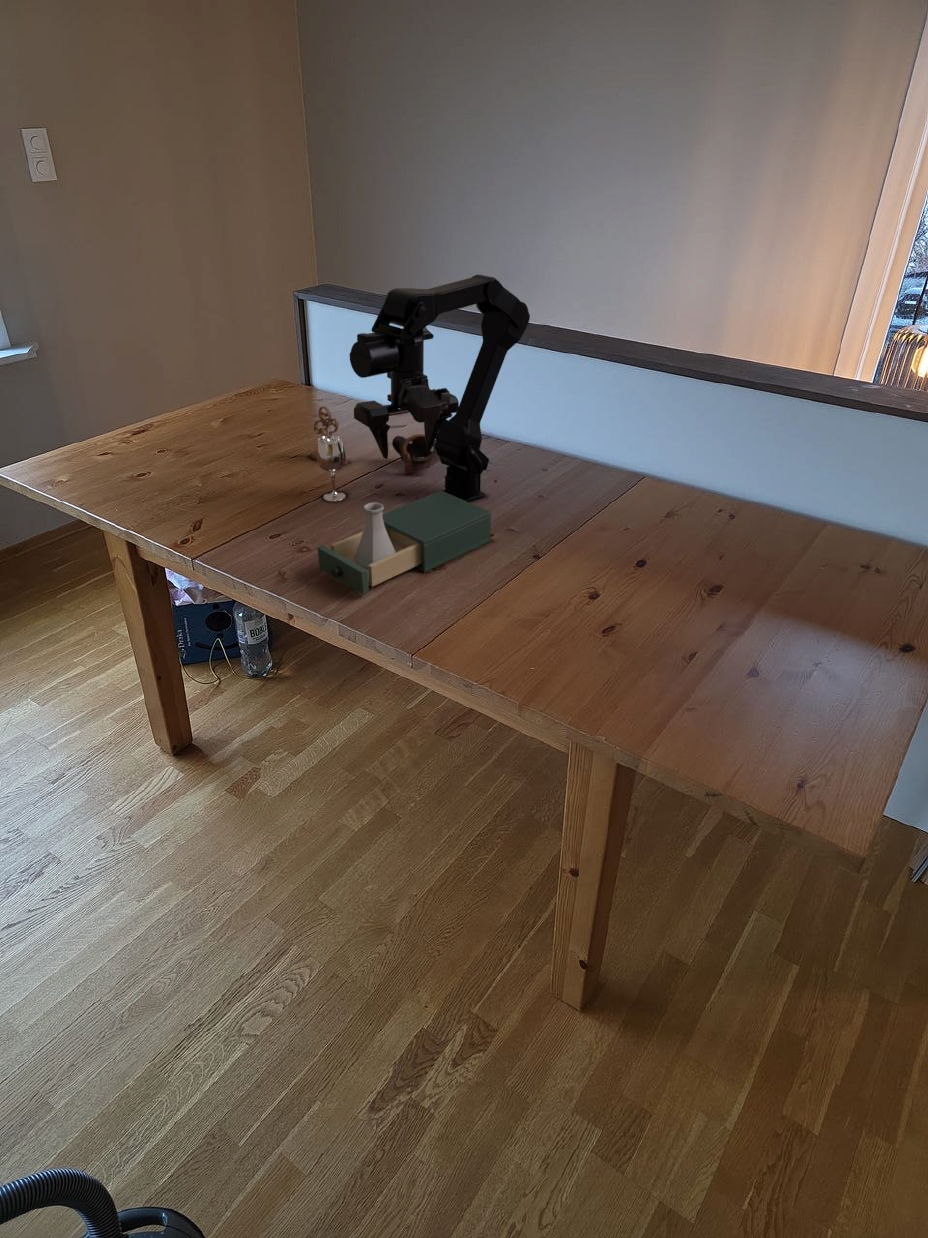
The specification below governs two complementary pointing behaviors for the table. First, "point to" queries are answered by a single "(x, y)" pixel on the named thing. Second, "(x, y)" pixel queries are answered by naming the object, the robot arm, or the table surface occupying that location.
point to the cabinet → (441, 527)
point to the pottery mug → (415, 452)
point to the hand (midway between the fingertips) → (407, 453)
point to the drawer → (358, 577)
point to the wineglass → (331, 461)
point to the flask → (373, 537)
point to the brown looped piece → (326, 424)
